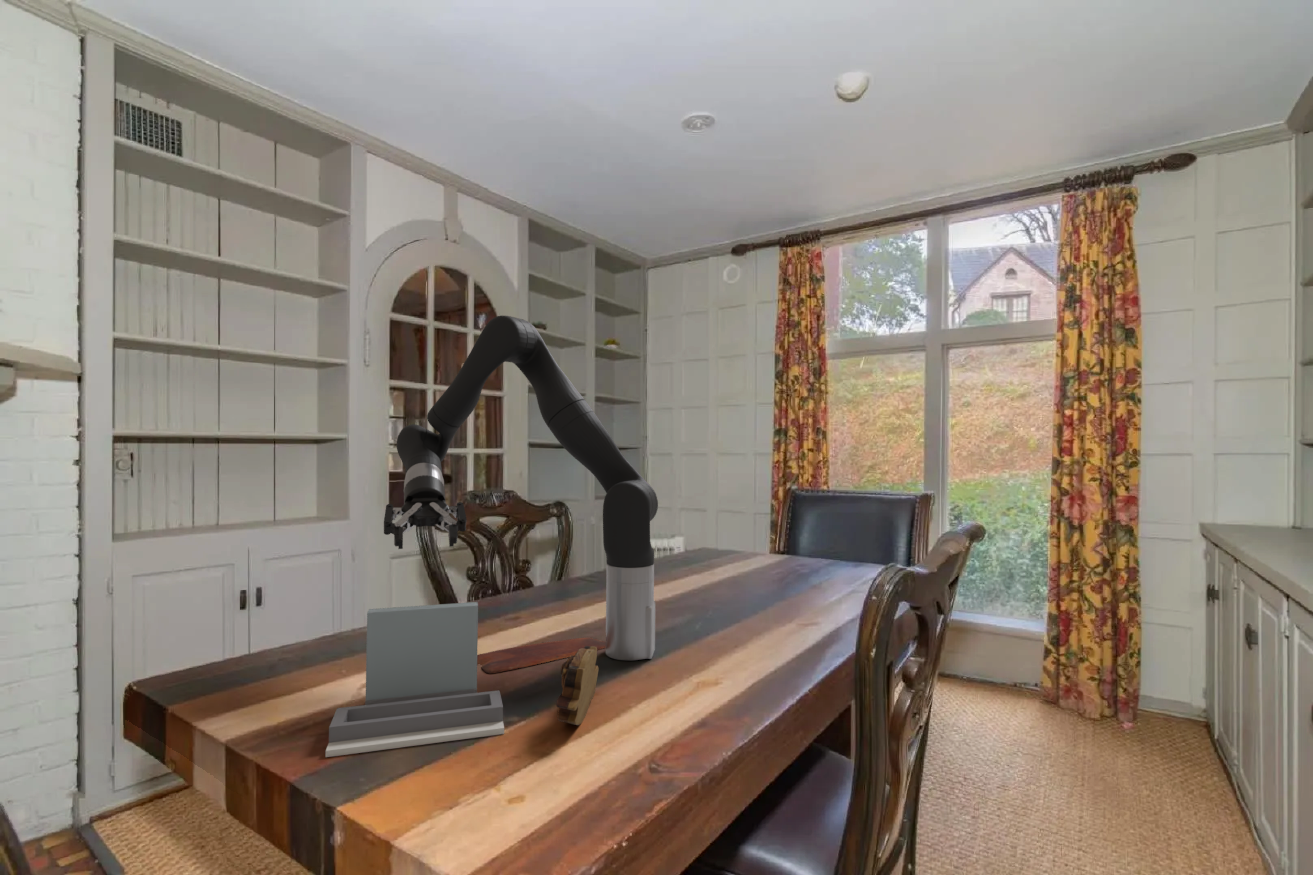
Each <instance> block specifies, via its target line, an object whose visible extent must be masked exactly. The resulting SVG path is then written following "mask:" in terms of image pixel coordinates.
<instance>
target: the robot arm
mask: <svg viewBox="0 0 1313 875" xmlns="http://www.w3.org/2000/svg"><path fill="white" fill-rule="evenodd" d="M505 362H506V363H512V364H514V365H515V367H516V368H518V369H519V370H520V372H521V373H522V374H523V375H524V377H525V378H526V380H528V381H529V383H530V385H531V386H532V388H533V391H534V393H535V396H536V397H535V398H536V401H537V404H538V408H539V409H538V410H539V411H540V415H541V418H542V419H543V421H544V423H545V424H546V426H547V427H548V429H549V430H550V432H551V433H552V434H553V436H554V438H555V439H556V440H557V441H558V443H559V444H560V445H561V446H562V448H564V450H565V451H567V452H568V453H569V454H570V455H571V456H572V457H573V458H574V459H576V460H577V462H578V463H580V464H581V465H582V466H584V468H586V469H587V470H588V471H589V472H590V473H591V474H592V475H593V476H594V477H595V479H596V480H597V481H598V482H599V484H600V485H601V486H602V489H603V490H604V491H605V493H606V494H605V495H604V500H603V504H602V505H603V506H602V540H603V542H602V543H603V549H604V552H605V555H606V570H605V572H606V575H605V576H606V580H605V581H606V582H605V583H606V584H605V585H606V586H605V589H606V592H605V597H606V598H605V642H606V644H605V645H606V648H605V655H606V656H607V657H608V658H611V659H614V660H618V661H638V660H639V661H640V660H645V659H649V660H651V659H652V658H653V656H654V653H655V650H656V600H655V550H654V549H653V547H652V544H651V543H652V542H651V521H653V520H654V519H655V517H656V515H657V513H658V508H659V500H658V496H657V493H656V492H655V490H654V489H653V487H652V486H651V485H650V484H649V483H648V482H647V480H645V478H644V477H643V476H642V475H641V474H640V473H639V471H637V469H636V468H635V467H634V466H633V465H632V464H631V463H630V461H628V460H627V458H626V457H625V456H624V455H623V453H622V452H621V450H620V449H619V447H618V446H617V444H616V442H615V441H614V439H613V438H612V436H611V434H610V433H609V432H608V430H607V429H606V427H605V426H604V425H603V423H602V421H601V420H600V419H599V417H598V416H597V414H596V413H595V411H594V410H593V409H592V407H591V406H590V405H589V404H588V402H587V400H585V398H584V397H583V395H582V394H581V393H580V392H579V391H578V389H577V388H576V387H575V385H574V383H573V382H572V381H571V380H570V378H569V377H568V376H567V374H566V373H565V372H564V371H563V370H562V368H561V367H560V366H559V364H558V363H557V361H556V359H555V358H554V356H553V355H552V353H551V351H550V350H549V348H548V346H547V344H546V343H545V341H544V339H543V337H542V336H541V334H540V333H539V331H538V330H537V328H536V327H535V326H534V325H533V324H532V323H531V322H529V321H528V320H525V319H522V318H518V317H514V316H511V315H497V316H495V317H493V318H491V319H490V320H489V321H488V322H487V324H485V326H484V328H483V329H482V331H480V334H479V335H478V337H477V340H476V341H475V342H474V345H473V346H472V348H471V350H470V352H469V353H468V355H467V358H466V359H465V361H464V363H463V365H462V366H461V368H460V369H459V371H458V373H457V374H456V376H455V377H454V379H453V380H452V382H451V383H450V385H448V387H447V388H446V389H445V391H444V392H443V393H442V395H441V396H440V397H439V398H438V399H437V400H436V402H435V403H434V404H433V406H431V408H430V409H429V410H428V412H427V415H426V420H427V422H428V423H429V425H430V426H431V427H432V428H433V430H435V431H436V432H437V433H435V432H434V431H431V430H429V429H428V428H426V427H423V426H422V425H419V424H415V423H413V424H408V425H406V426H404V427H403V428H402V429H401V430H400V432H399V433H398V436H397V438H396V451H397V454H398V456H399V458H400V461H401V463H402V465H403V466H404V468H405V477H404V481H403V505H402V506H401V507H394V505H393V504H392V503H387V504H386V505H385V511H384V519H383V534H384V535H387V536H388V535H391V534H392V535H393V536H394V537H393V545H394V546H395V547H398V550H403V549H404V548H403V545H404V533H406V532H410V531H411V530H412V529H413V528H415V527H418V528H422V527H435V526H436V527H437V528H439V529H440V530H442V531H446V532H447V534H448V546H449V547H454V546H455V545H454V544H457V543H458V537H459V536H458V532H461V533H462V532H465V531H466V530H467V522H468V520H467V515H466V510H465V504H464V503H463V502H461V501H458V502H457V503H456V505H451V506H450V505H449V504H447V501H446V493H445V492H446V490H445V489H446V488H445V479H444V477H443V469H442V462H444V459H445V458H446V455H447V454H448V451H449V449H450V445H451V443H452V442H453V439H454V437H455V435H456V434H457V431H458V430H459V428H460V427H461V426H462V425H463V424H464V422H466V420H467V419H468V418H469V417H470V416H471V414H472V413H473V411H474V409H476V407H477V405H478V403H479V400H480V398H481V394H482V390H483V389H484V386H485V383H486V382H487V380H488V378H489V377H490V376H491V375H492V374H493V372H494V371H495V370H497V369H498V368H499V367H500V366H502V364H504V363H505ZM450 514H451V515H452V516H453V517H454V518H455V519H454V518H453V517H452V516H450ZM398 516H401V518H400V519H398V520H397V521H396V522H393V521H395V520H396V519H397V518H398Z"/></svg>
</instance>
